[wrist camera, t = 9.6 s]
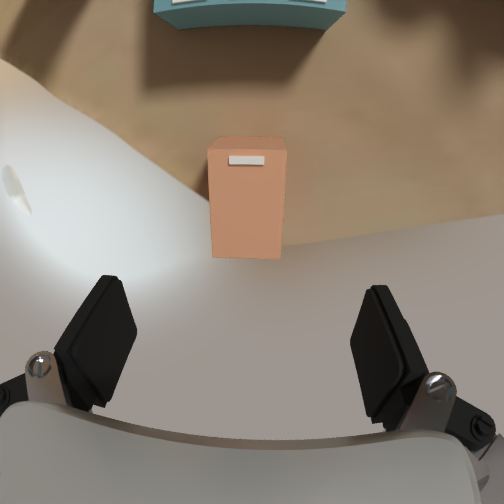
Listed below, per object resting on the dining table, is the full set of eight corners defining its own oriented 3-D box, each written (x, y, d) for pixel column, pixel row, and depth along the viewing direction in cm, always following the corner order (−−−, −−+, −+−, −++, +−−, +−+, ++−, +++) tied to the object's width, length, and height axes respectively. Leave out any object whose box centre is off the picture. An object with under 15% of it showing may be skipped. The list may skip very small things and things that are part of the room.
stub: (280, 137, 22) (287, 150, 17) (276, 224, 26) (280, 260, 21) (220, 136, 22) (206, 150, 17) (222, 222, 26) (212, 258, 21)
